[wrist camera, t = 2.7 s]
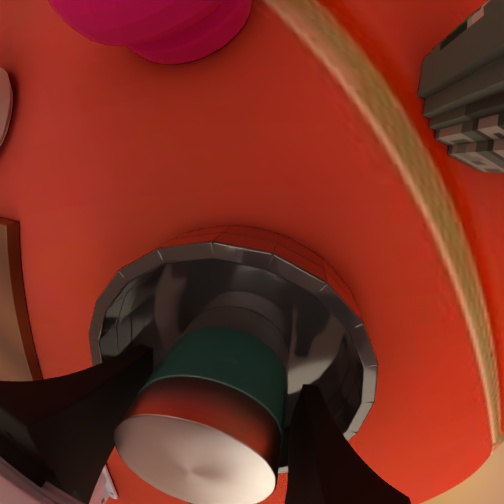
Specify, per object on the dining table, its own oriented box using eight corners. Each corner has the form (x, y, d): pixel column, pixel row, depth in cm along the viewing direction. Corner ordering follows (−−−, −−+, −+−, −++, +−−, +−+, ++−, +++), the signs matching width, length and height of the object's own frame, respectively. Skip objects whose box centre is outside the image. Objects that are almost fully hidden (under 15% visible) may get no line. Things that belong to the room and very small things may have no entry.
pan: (320, 444, 15) (321, 488, 12) (131, 399, 17) (106, 433, 13) (394, 255, 12) (424, 283, 9) (129, 205, 13) (83, 215, 10)
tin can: (277, 404, 14) (260, 518, 8) (179, 381, 15) (123, 479, 8) (302, 318, 13) (299, 442, 6) (185, 293, 13) (100, 387, 7)
